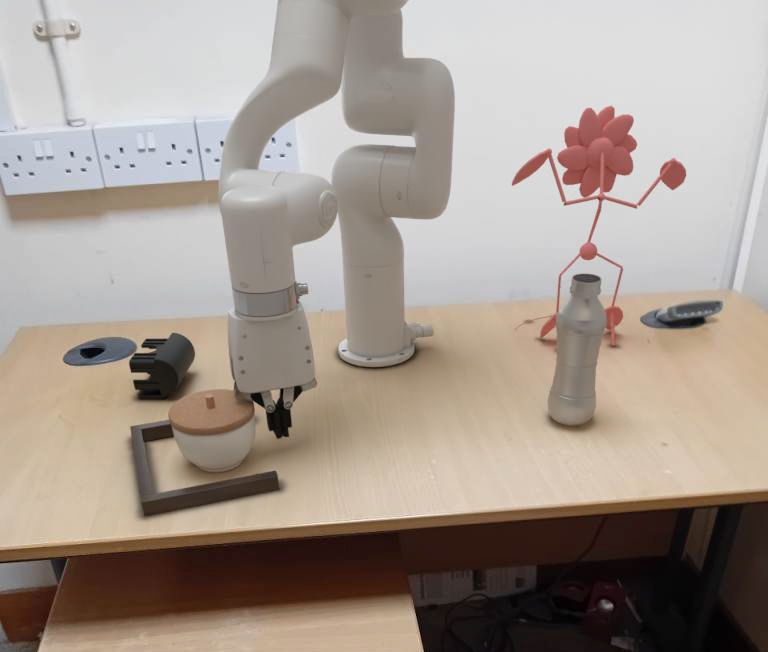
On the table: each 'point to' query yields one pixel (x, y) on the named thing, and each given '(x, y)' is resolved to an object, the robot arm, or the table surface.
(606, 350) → the table surface
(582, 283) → the plastic bottle
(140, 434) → the frame
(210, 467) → the trinket box
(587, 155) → the figurine
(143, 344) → the end cap
